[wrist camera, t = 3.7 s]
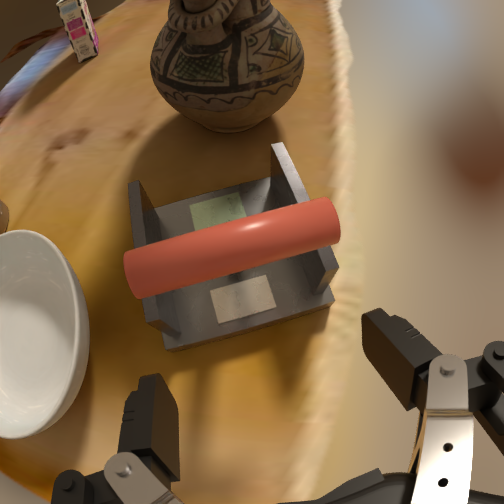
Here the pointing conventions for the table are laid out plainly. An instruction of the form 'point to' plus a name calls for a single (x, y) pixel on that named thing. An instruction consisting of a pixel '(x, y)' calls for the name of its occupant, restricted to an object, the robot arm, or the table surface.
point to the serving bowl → (38, 334)
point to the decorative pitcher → (226, 62)
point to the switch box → (240, 283)
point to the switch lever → (231, 247)
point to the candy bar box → (79, 28)
